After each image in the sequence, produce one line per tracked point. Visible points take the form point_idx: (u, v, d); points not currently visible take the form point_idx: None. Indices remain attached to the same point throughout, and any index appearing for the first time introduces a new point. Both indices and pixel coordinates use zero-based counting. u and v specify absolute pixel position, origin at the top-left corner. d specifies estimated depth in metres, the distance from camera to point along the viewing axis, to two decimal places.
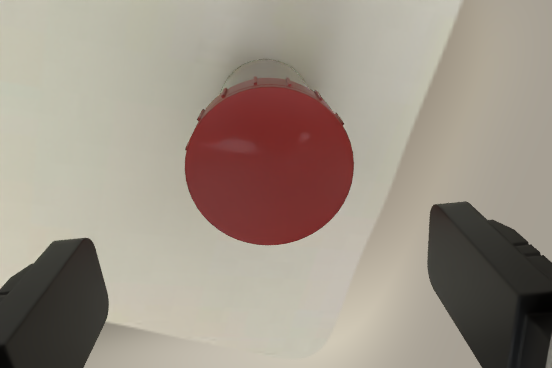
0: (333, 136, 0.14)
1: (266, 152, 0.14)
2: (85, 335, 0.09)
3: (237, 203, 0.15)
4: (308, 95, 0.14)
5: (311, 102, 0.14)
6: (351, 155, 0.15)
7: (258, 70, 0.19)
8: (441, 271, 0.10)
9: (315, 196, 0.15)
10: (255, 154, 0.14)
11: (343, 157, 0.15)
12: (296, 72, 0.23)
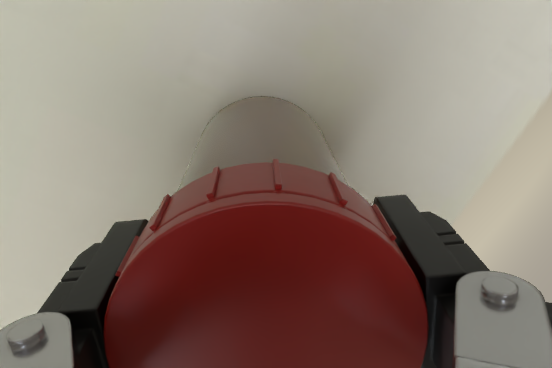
0: (402, 313, 0.07)
1: (270, 317, 0.07)
2: None
3: None
4: (377, 233, 0.07)
5: (381, 249, 0.07)
6: (424, 348, 0.08)
7: (270, 123, 0.12)
8: None
9: None
10: (248, 317, 0.07)
11: (409, 349, 0.08)
12: (318, 127, 0.16)
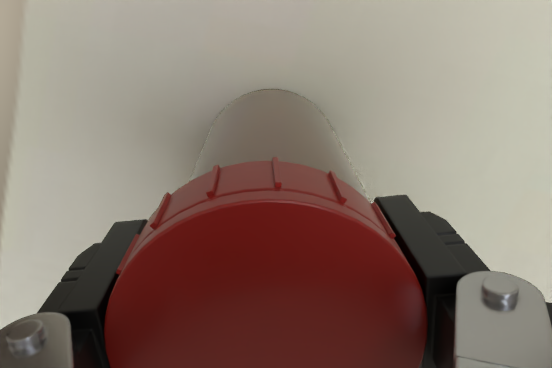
0: (402, 310, 0.08)
1: (270, 314, 0.07)
2: None
3: None
4: (377, 231, 0.07)
5: (380, 247, 0.07)
6: (423, 346, 0.08)
7: None
8: None
9: None
10: (248, 314, 0.07)
11: (408, 346, 0.08)
12: None
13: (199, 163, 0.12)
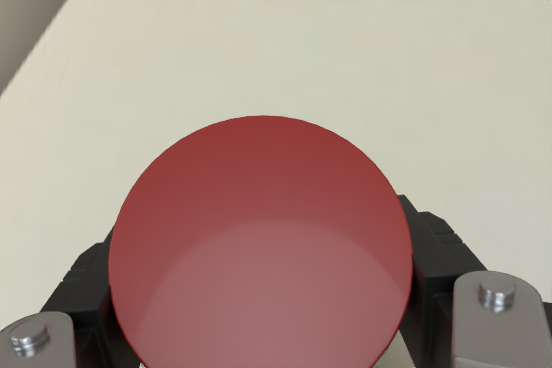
0: (229, 136, 0.09)
1: (222, 242, 0.08)
2: None
3: (306, 322, 0.08)
4: (156, 161, 0.09)
5: (165, 156, 0.09)
6: (268, 117, 0.09)
7: None
8: None
9: (325, 181, 0.09)
10: (220, 262, 0.08)
11: (268, 128, 0.09)
12: None
13: None
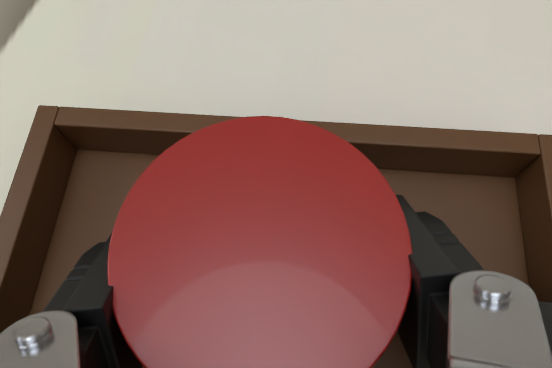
0: (228, 136, 0.09)
1: (222, 243, 0.08)
2: None
3: (306, 323, 0.08)
4: (156, 161, 0.09)
5: (164, 157, 0.09)
6: (267, 117, 0.09)
7: None
8: None
9: (325, 182, 0.09)
10: (219, 262, 0.08)
11: (267, 129, 0.09)
12: None
13: None
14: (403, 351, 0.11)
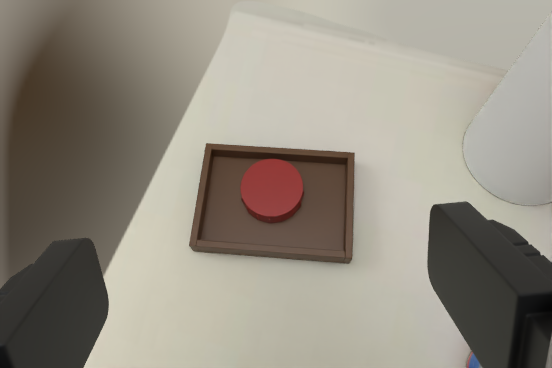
0: (264, 163, 0.41)
1: (264, 186, 0.40)
2: (85, 334, 0.09)
3: (281, 200, 0.39)
4: (248, 169, 0.41)
5: (250, 168, 0.40)
6: (273, 159, 0.41)
7: None
8: (441, 271, 0.10)
9: (285, 173, 0.40)
10: (263, 189, 0.40)
11: (273, 161, 0.41)
12: None
13: None
14: (309, 210, 0.41)
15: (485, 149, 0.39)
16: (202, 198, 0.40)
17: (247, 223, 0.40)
